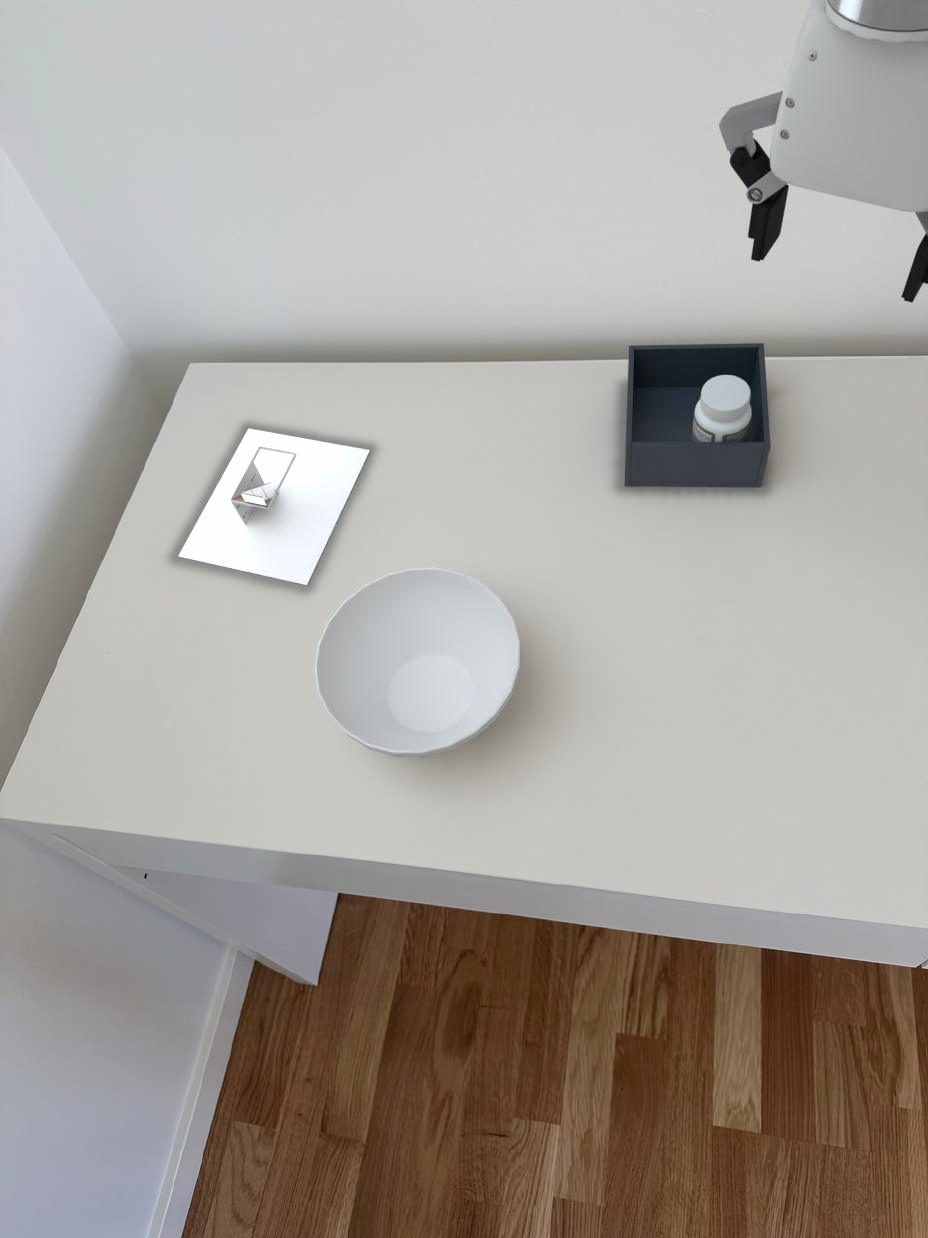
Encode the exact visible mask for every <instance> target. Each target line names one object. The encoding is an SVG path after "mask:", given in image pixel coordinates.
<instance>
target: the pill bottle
mask: <svg viewBox="0 0 928 1238" xmlns="http://www.w3.org/2000/svg"><path fill="white" fill-rule="evenodd" d="M750 394H751V393H750V388H749V386H748V384H747V383H746V382H745V381H744V380H742V379H741V378H739V377H736V376H733V375H720V376H716V377H713V378H711V379H710V380H708V381H707V382H706V383H705V384H704V386H703V388H702V391H701V397H700V400H699V401H698V403H697V405H696V407H695V412H694V420H693V429H692V438H691V442H746V441H747V436H748V430H749V425H750V420H751V414H752V413H751V406H750V404H749V402H750Z"/></svg>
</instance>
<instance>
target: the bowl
mask: <svg viewBox="0 0 928 1238" xmlns="http://www.w3.org/2000/svg"><path fill="white" fill-rule="evenodd" d="M320 636H321V637H320V638H319V640H318V642H317V647H316V653H315V659H314V667H313V671H314V677H315V678H314V679H315V685H316V686H315V687H316V692H317V695H318V697H319V699H320V702H321V703H322V706H323V708H324V710H325V712H326V714H327V715H328V717H329V718H330V719H331V720H332V721H333V722H334V723H335V724H336V725H337V727H339V728H340V730H341V731H342V732H343V733H344V734H345V735H346V736H347V737H349V738H350V739H352V740H353V741H356V743H359V744H360V745H362V746H364V747H365V748H367V749H368V750H370V751H373V752H378V753H380V754H384V755H389V756H392V757H396V758H427V757H428V758H429V757H431V756H437V755H441V754H444V753H449V752H452V751H454V750H456V749H458V748H460V747H462V746H463V745H466V744H468V743H469V742H471V741H473V740H475V739H476V738H477V737H478V736H479V735H481V734H482V733H483V732H484V731H485V730H487V728H488V727H490V726H491V725H492V724H493V723H494V722H495V721H496V720H497V719H498V717H499V716H500V714H501V713H502V711H503V710H504V709H505V706H507V704H508V702H509V701H510V699H511V698H512V697H513V692H514V690H515V686H516V685H517V680H518V678H519V675H520V669H521V668H520V667H521V666H520V665H521V664H520V663H521V639H520V636H519V631H518V628H517V626H516V621H515V618H514V616H512V614H511V612H510V610H509V609H508V607H507V606H506V604H505V603H504V601H503V599H502V598H500V596H499V595H497V594H496V593H495V592H494V591H492V590H491V589H490V588H489V587H488V586H487V585H486V584H485V583H483V582H481V581H479V580H478V579H475V578H473V577H471V576H469V575H467V574H465V573H463V572H459V571H456V570H451V569H446V568H440V567H411V568H407V569H403V570H398V571H394V572H390V573H386V574H385V575H383V576H380V577H379V578H375V579H374V580H372V581H370V582H368V583H366V584H364V585H362V586H361V587H360V588H359V589H358V590H356V591H355V592H354V593H352V594H351V595H350V596H349V597H347V598H346V599H345V600H344V601H343V602H342V603H341V604H340V605H339V607H338V608H337V609H336V610H335V612H334V613H333V614H332V616H331V617H330V618H329V619H328V620H327V622H326V625H325V627H324V629H323V631H322V634H321V635H320Z"/></svg>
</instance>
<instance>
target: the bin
mask: <svg viewBox="0 0 928 1238" xmlns="http://www.w3.org/2000/svg"><path fill="white" fill-rule="evenodd" d="M765 354H766V353H765V343H764V342H753V343H750V342H749V343H699V344H698V343H697V344H695V343H694V344H692V343H691V344H688V343H687V344H643V345H641V344H640V345H639V344H638V345H629V346H628V362H627V363H628V364H627V365H628V366H627V392H626V393H627V394H626V420H625V421H626V424H625V425H626V426H625V451H624V452H625V455H624V456H625V457H624V487H663V488H664V487H665V488H666V487H668V488H669V487H670V488H671V487H679V488H681V487H682V488H685V487H686V488H761V487H762V484H763V481H764V480H763V479H764V475H765V472H766V468H767V463H768V459H769V455H770V452H771V445H772V444H771V431H770V416H769V399H768V385H767V370H766V369H767V368H766V355H765ZM720 375H733V376H736V377H739V378H741V379H742V380H744V381H745V382H746V383H747V384H748V386H749V388H750V393H751V394H750V402H749V404H750V406H751V413H752V414H751V420H750V425H749V430H748V436H747V441H746V442H691V438H692V429H693V420H694V412H695V407H696V405H697V403H698V401H699V400H700V397H701V391H702V388H703V386H704V384H705V383H706V382H707V381H708V380H710V379H711V378H713V377H716V376H720Z"/></svg>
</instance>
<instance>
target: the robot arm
mask: <svg viewBox="0 0 928 1238" xmlns="http://www.w3.org/2000/svg"><path fill="white" fill-rule="evenodd" d="M771 126H774V128H773V133H772V139H771V145H770V151H769V155H768V154H767V153H766V151H765V150H764V148H763V147H762V145H760V143H759V141H757V139H756V138H754V131H756V130H760V129H764V128H768V127H771ZM718 128H719V131H720V134H721V137H722V139H723V143H724V145H725V149H726V151H727V152H729V155H730V157H729V164H730V166H731V168H732V169H733V171H734V172H735V173H736V175H737V176H738V178H739V179H740V180H741V182H742V183H743V185H744V186H745V187H746V189H747V190H746V192H745V196H746V199H747V200H748V201H749V202H750V203H752V205H751V210H750V219H749V225H748V232H747V238H748V239H750V240H751V239H752V240H753V243H752V249H751V256H750V260H751V261H755V262H761V261H764V260H765V258H766V257H767V255H768V254H769V252H770V251H771V249H772V248H773V246H774V245H775V243H776V242H777V240H778V239H779V237H780V235H781V233H782V228H783V222H784V216H785V211H786V204H787V199H788V193H789V188H790V185H791V186H794V187H797V188H802V189H805V190H809V191H814V192H818V193H822V194H827V195H831V196H836V197H840V198H843V199H848V200H853V201H857V202H861V203H864V204H868V205H869V204H870V205H874V206H878V207H883V208H888V209H892V210H895V211H901V212H908V213H915V215H916V217H917V220H918V221H919V222H920V225H921V226H922V228H923V231H925V234H924V236H923V237H922V239H921V241H920V242H919V244H918V247H917V249H916V252H915V254H914V258H913V261H912V264H911V267H910V268H909V269H910V270H909V273H908V276H907V278H906V281H905V285H904V288H903V291H902V294H901V298H902V299H903V301H905V302H908V303H913V302H914V300H915V298H916V297H917V296H918V294H919V291H920V290H921V288H922V286H923V284H925V285H928V0H811V1H810V3H809V6H808V8H807V11H806V14H805V16H804V20H803V22H802V24H801V28H800V31H799V34H798V37H797V40H796V44H795V47H794V50H793V54H792V57H791V60H790V63H789V68H788V72H787V75H786V78H785V82H784V86H783V89H782V91H778V92H774V93H771V94H768V95H766V96H765V95H764V96H762V97H759V98H755V99H753V100H750V101H747V102H743V103H739V104H736V105H734V106H731V107H730V108H729V109H727V111H726V113H725V114H724V115H723V116H722V118H721V119H720V120H719V123H718Z"/></svg>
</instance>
